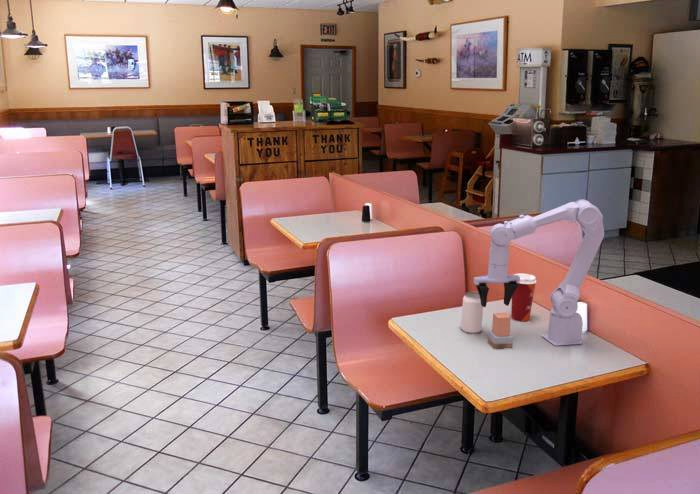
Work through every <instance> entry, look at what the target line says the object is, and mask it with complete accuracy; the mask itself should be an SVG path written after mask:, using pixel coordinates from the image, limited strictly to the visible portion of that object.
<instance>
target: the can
mask: <svg viewBox="0 0 700 494" xmlns="http://www.w3.org/2000/svg"><path fill="white" fill-rule="evenodd" d="M461 309H462V310H461V319H460V320H461V323H460V329H461V330H462V331H463V332H464V333H467V334H478V333H480V332H482V326H483V324H482V323H483V315H484V313H483V312H484V307H483V306H482V305H481V300H480V295H479V292H477V291H468V292H465V293H464V296H463V298H462V307H461Z"/></svg>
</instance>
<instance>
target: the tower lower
mask: <svg viewBox="0 0 700 494" xmlns="http://www.w3.org/2000/svg"><path fill="white" fill-rule="evenodd" d="M487 344H489V345H490V346H491V348H493V349H494V350H495V349H496V350H505V349H504V348H510V349H513V344H514V343H513V342H512V344H494V343H493V342H492V341H491V339H490V338H489V337H487Z"/></svg>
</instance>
